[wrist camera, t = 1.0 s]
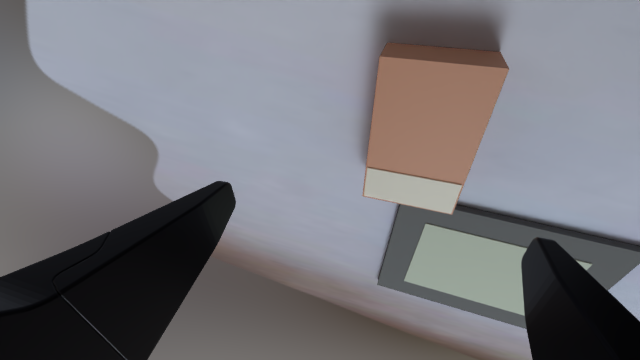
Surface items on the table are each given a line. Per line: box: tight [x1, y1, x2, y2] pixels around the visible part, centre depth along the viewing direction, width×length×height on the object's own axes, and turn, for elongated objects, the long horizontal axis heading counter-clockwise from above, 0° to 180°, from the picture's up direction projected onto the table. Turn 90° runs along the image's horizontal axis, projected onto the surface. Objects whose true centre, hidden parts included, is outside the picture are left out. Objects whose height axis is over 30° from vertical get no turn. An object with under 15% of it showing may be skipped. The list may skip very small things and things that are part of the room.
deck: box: [363, 43, 509, 215], centre depth 19 cm, size 10×6×3 cm, turn 0°
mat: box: [377, 204, 640, 329], centre depth 25 cm, size 16×12×1 cm
